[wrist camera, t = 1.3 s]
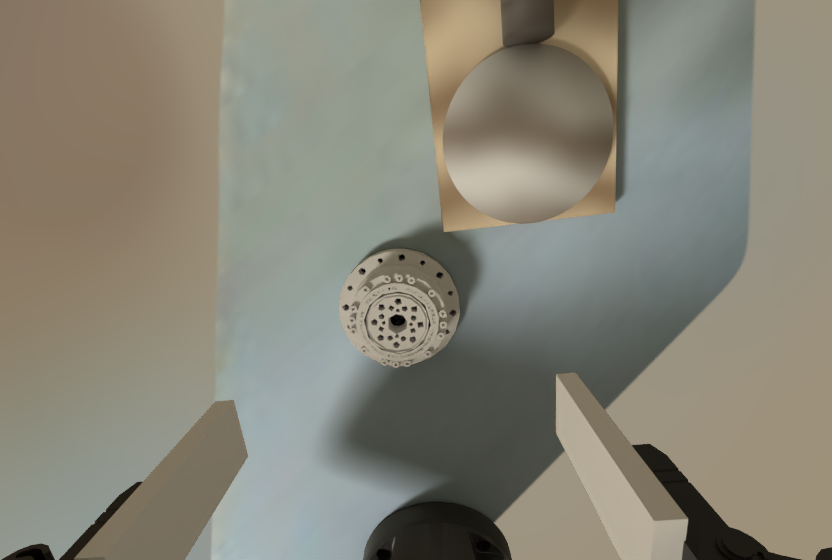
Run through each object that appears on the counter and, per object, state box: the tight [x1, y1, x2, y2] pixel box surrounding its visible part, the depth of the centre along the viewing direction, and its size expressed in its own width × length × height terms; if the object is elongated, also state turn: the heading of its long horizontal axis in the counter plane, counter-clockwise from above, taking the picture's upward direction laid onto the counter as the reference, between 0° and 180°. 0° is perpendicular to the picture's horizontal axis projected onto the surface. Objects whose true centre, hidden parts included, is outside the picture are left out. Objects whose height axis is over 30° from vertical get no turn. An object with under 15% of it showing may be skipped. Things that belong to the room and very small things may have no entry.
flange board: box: [420, 0, 618, 232], centre depth 26 cm, size 17×13×5 cm
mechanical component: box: [339, 249, 460, 368], centre depth 31 cm, size 10×4×10 cm
